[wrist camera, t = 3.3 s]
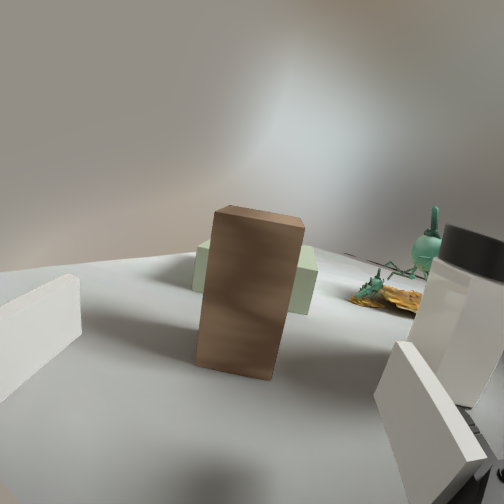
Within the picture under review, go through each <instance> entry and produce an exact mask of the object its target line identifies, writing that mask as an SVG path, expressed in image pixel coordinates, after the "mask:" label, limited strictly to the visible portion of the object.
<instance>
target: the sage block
mask: <svg viewBox="0 0 504 504" xmlns="http://www.w3.org/2000/svg"><path fill="white" fill-rule="evenodd" d="M210 240H211V239H209V240H207V241H206V242H204V243H202V244H201V245H199V246H197V252H196V260H195V268H194V276H193V284H192V291H196V292H201V293H203V292H204V284H205V276H206V269H207V261H208V254H209V247H210ZM317 273H318V268H317V264H316V259H315V254H314V249H313V247H309V246H304V245H302V247H301V252H300V256H299V261H298V266H297V271H296V275H295V280H294V284H293V289H292V294H291V298H290V302H289V307H288V312H293V313H298V314H303V315H308V311H309V307H310V303H311V299H312V294H313V290H314V286H315V282H316V278H317Z"/></svg>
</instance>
